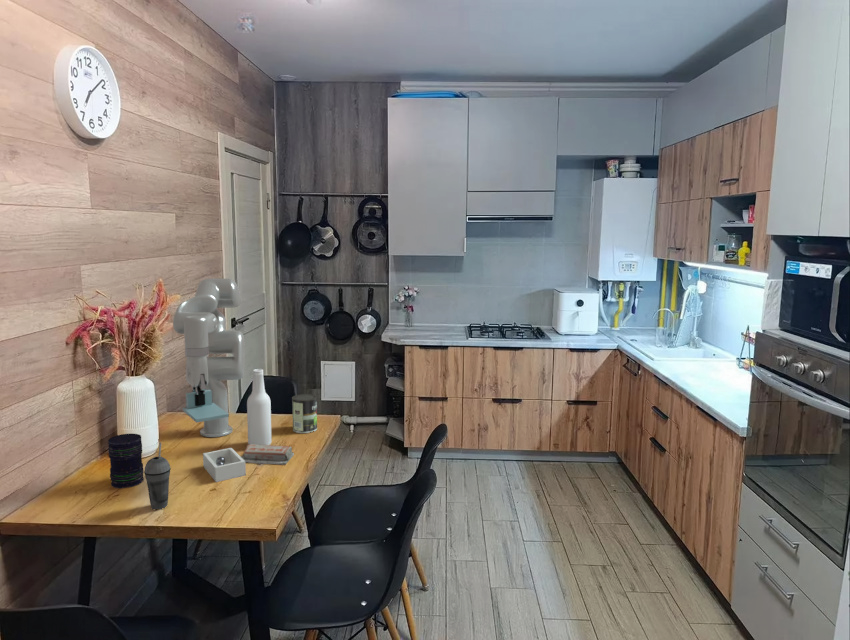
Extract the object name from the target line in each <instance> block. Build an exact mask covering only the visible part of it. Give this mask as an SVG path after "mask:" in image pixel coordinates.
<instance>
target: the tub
mask: <svg viewBox="0 0 850 640" xmlns="http://www.w3.org/2000/svg"><path fill="white" fill-rule="evenodd" d="M218 457H224V458H225V463H224V465H221V466H217V465H216V460H217V458H218ZM202 458H203V459H202V460H203V461H202V464H203V468H204V469H205V470H207V471H206V472H207V473H208V474H209V475H210V477H211V478H212V480H214V482H215V483H218V482H222V481H223V482H224V481H227V480H232V479H235V478H241V477H244V476H247V473H246V472H247V471H246V470H247V468H246V462H245V460H243V459H242V458H241V455H239V454H238V452H237V451H236V450H234V448H232V447H228V448H222V449H218V450H213V451H209V452H203V453H202Z"/></svg>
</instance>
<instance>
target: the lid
mask: <svg viewBox="0 0 850 640" xmlns="http://www.w3.org/2000/svg"><path fill="white" fill-rule="evenodd" d="M195 395H196V392H192V391H191V392H185V407H182V411H183V412H184V413H185V414H186V415H187V416H188V417H190V419H192V420H193V421H194V422H195V423H197V424H198V423H204V421H209V420H214V419H220V418H225V417H228V418H229V417H230V413H229V412H228V413H227V412H225V411H224V410H223V409H221V408H220V407H219V406H217V405H216V404H215V403H212V391H211V390H205V405H201V406H195Z"/></svg>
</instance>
